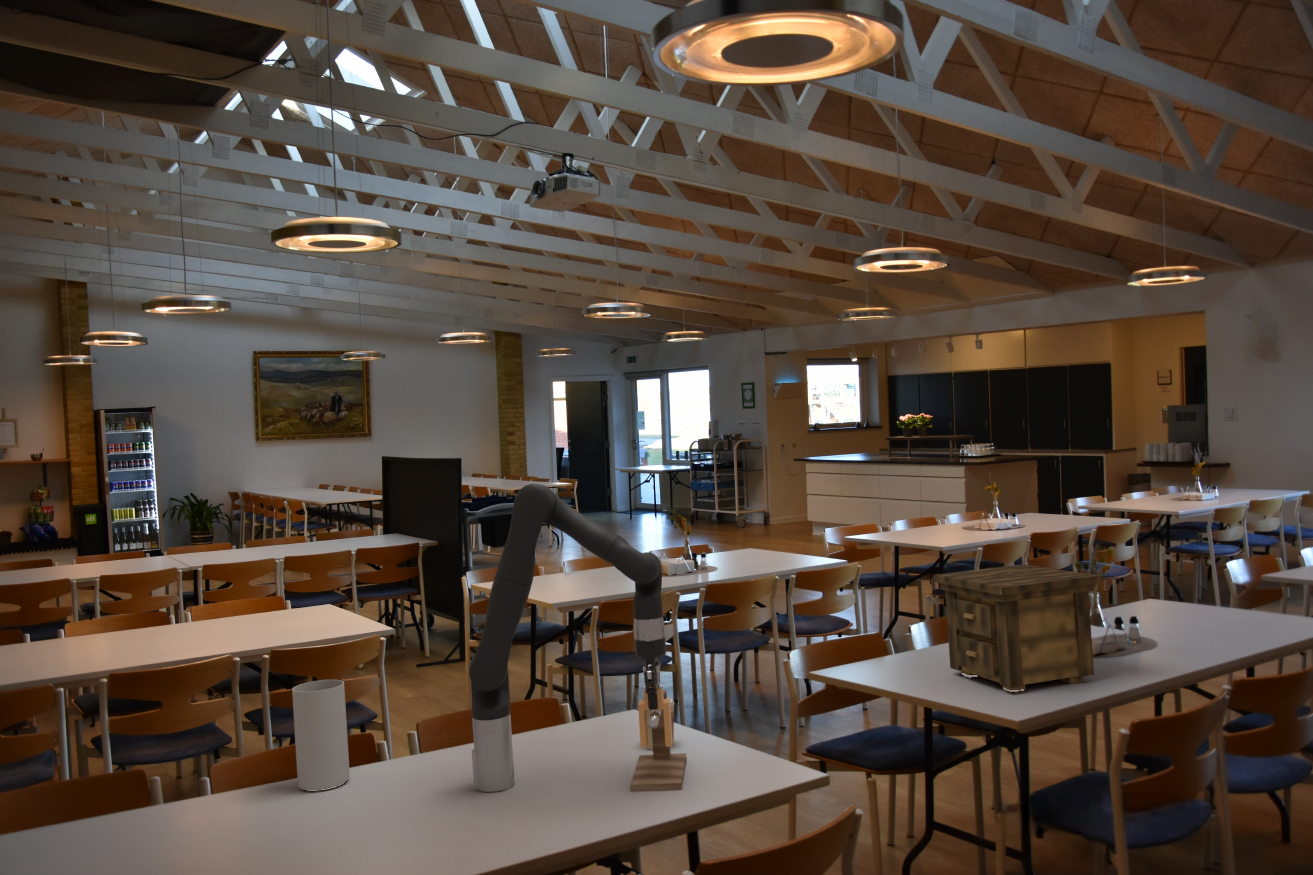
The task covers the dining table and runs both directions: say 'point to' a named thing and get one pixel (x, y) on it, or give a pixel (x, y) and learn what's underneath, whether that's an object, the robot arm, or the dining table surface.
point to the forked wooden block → (662, 704)
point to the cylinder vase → (320, 734)
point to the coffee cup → (649, 730)
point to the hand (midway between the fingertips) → (654, 706)
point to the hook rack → (659, 761)
